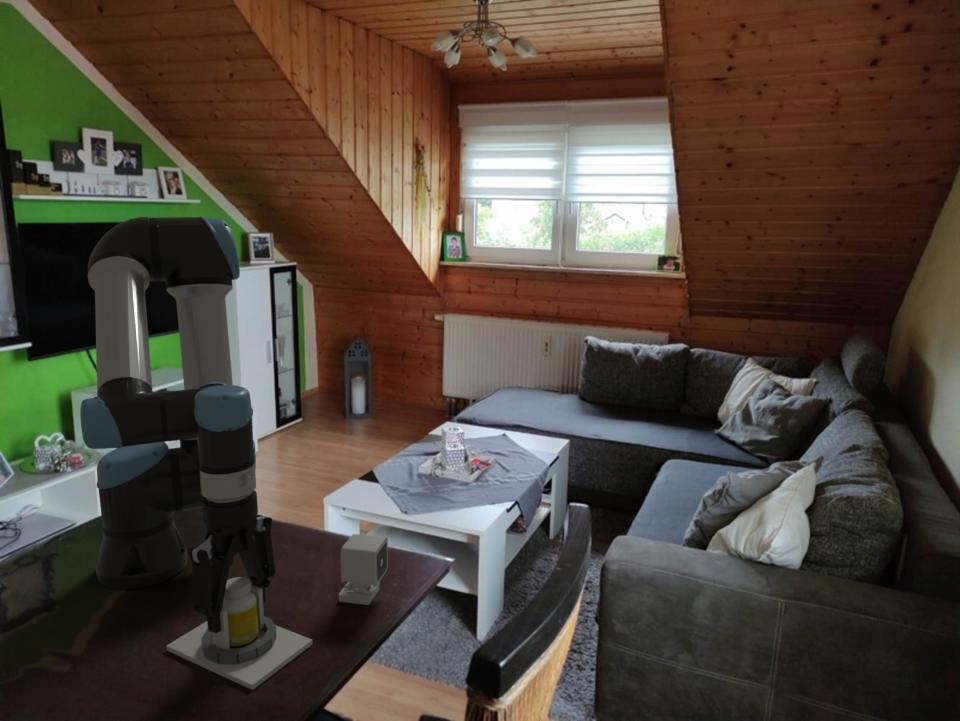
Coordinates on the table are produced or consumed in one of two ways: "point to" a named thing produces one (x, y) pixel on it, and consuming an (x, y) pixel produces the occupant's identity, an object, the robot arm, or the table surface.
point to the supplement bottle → (241, 613)
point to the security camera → (363, 567)
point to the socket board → (249, 668)
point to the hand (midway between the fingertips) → (239, 636)
